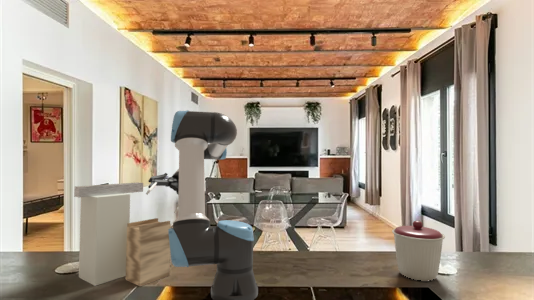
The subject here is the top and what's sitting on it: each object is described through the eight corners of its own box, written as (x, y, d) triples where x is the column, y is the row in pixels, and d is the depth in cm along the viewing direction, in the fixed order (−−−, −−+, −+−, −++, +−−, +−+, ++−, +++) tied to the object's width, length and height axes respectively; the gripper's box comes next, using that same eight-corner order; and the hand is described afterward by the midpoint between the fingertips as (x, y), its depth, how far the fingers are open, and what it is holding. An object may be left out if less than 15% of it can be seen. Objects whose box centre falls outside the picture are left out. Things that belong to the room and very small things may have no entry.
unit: (128, 275, 114) (130, 194, 115) (94, 285, 105) (97, 197, 105) (110, 267, 122) (112, 191, 122) (78, 276, 112) (80, 194, 113)
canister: (452, 288, 107) (452, 227, 107) (397, 283, 110) (397, 224, 111) (435, 269, 124) (435, 217, 125) (387, 266, 128) (388, 215, 128)
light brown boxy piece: (169, 275, 114) (170, 221, 115) (140, 286, 105) (141, 226, 105) (155, 270, 120) (156, 218, 120) (125, 279, 110) (127, 223, 110)
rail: (143, 191, 124) (143, 182, 124) (78, 197, 105) (79, 187, 105) (138, 190, 126) (138, 182, 126) (74, 196, 107) (74, 186, 107)
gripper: (198, 198, 148) (183, 224, 128) (154, 168, 144) (131, 190, 124) (206, 187, 145) (192, 212, 125) (162, 157, 141) (140, 177, 122)
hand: (162, 201), depth 125 cm, fingers open, 13 cm apart
